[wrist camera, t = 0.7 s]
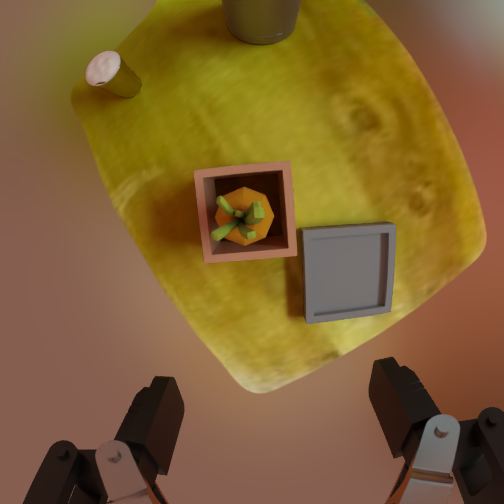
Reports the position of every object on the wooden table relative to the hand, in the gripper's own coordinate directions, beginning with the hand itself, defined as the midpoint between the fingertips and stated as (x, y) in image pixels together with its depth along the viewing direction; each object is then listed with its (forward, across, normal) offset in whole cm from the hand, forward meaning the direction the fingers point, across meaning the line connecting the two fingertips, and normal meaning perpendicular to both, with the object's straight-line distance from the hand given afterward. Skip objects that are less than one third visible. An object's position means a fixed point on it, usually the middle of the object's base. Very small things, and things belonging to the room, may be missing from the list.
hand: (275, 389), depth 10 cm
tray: (+24, -10, +5) cm, 27 cm away
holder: (+25, +1, -4) cm, 25 cm away
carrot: (+25, +1, -4) cm, 25 cm away
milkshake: (+26, +15, -22) cm, 37 cm away
